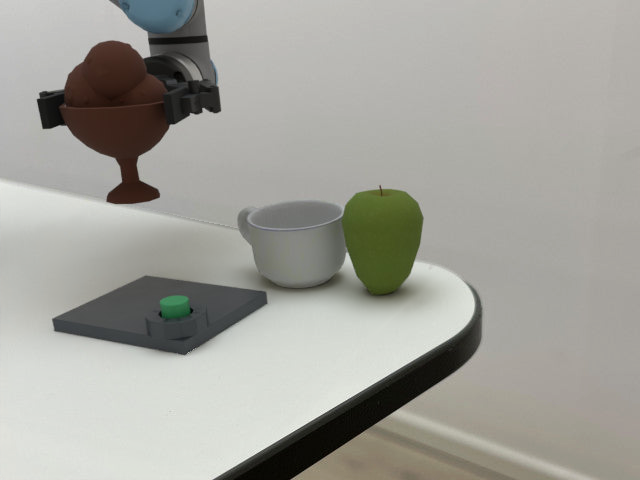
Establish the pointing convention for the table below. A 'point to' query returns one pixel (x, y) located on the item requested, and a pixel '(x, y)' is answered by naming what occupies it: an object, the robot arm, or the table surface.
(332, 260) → the teacup
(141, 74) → the ice cream bowl
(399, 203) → the apple
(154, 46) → the robot arm
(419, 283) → the table surface
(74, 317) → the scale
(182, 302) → the button
